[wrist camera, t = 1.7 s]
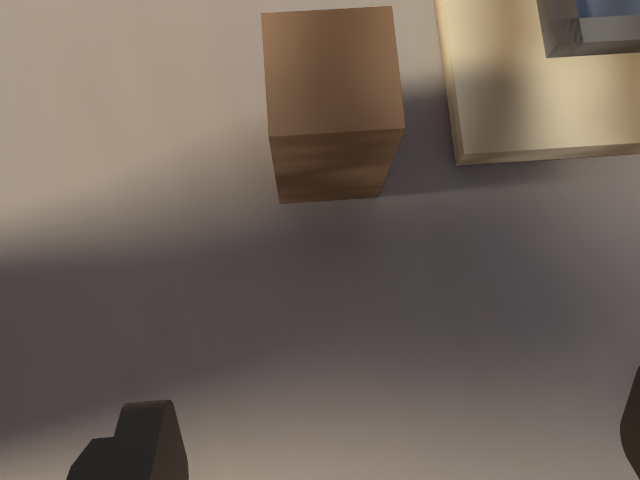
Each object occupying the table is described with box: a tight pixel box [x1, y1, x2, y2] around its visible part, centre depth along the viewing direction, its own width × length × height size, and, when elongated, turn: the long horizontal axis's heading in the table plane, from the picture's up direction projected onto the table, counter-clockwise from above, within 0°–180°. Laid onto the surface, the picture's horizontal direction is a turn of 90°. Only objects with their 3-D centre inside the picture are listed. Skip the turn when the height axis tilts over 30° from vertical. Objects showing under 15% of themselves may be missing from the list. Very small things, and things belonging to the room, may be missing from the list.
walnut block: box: [261, 6, 406, 204], centre depth 24 cm, size 4×4×8 cm
